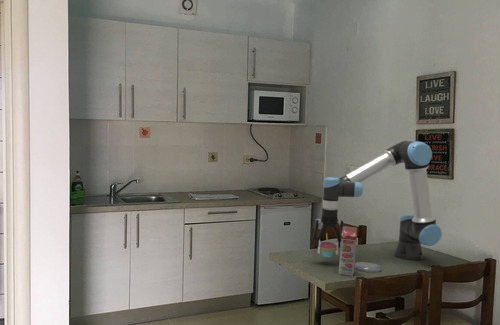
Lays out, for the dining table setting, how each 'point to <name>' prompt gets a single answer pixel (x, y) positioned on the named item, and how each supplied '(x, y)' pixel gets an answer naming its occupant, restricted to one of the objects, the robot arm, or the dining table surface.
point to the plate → (367, 267)
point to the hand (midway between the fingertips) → (327, 253)
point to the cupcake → (327, 248)
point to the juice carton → (348, 250)
